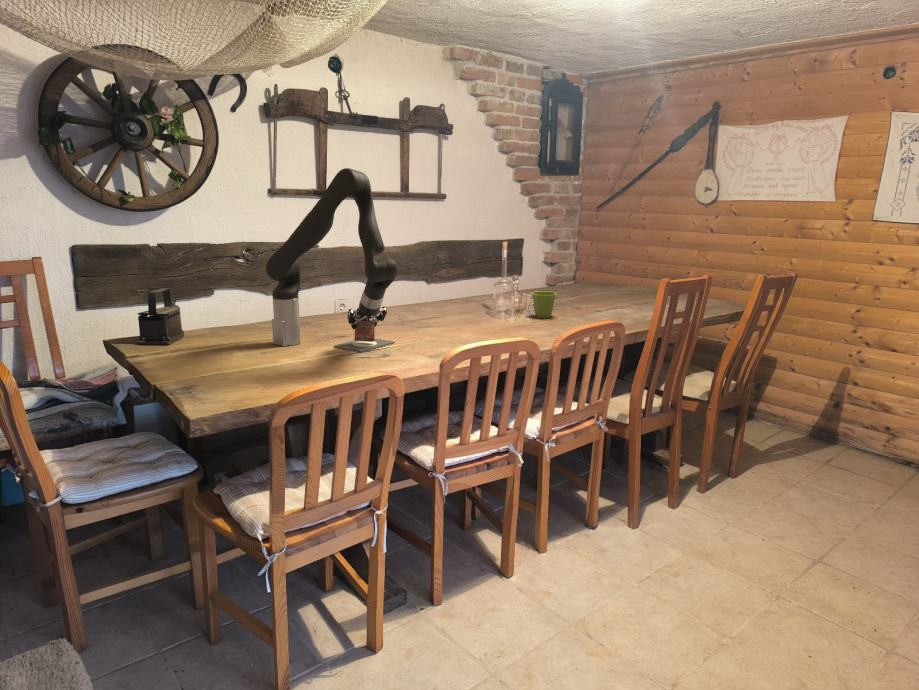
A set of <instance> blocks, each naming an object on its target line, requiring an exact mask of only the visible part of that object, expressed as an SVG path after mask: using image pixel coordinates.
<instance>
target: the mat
mask: <svg viewBox="0 0 919 690" xmlns="http://www.w3.org/2000/svg"><path fill="white" fill-rule="evenodd" d="M393 343H395V344H396V341H392V340H387V339H381V338H375V341H374V342H364V341H355V340H354V339H353V340H350V341H346V342H342V343H339V344H335V345H333V348H336V349H341V350H346V351H351V352H355V353H361V354H362V353H365V352H369V351H373V349H374V350H376V348H377V349H381V348H383V346H384V347H387V346H386V345H388V346H390V345H389V344H391V345H394V344H393ZM380 347H381V348H380Z"/></svg>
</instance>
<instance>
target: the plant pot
mask: <svg viewBox="0 0 919 690" xmlns="http://www.w3.org/2000/svg"><path fill="white" fill-rule="evenodd" d="M530 294H531V296H532V300H533V308H534V315H535V317H536V318H538V319H540V318H541V319H549V318H552V315H553V309H554V304H555V300H556V297H557V294H558V293H557V292H555V291H550V290H549V291H548V290H547V291H545V290H543V291H542V290H541V291H540V290H538V291H533V292H530Z"/></svg>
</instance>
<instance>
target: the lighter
mask: <svg viewBox="0 0 919 690" xmlns="http://www.w3.org/2000/svg"><path fill="white" fill-rule="evenodd" d="M374 323H375V321H373V319H363V320H362V321H361V322H358V323H357V325H356V328H355V329H354V338H353V341H354V340H355V341H364V342H374V341H375V337H376V335H375V328H374Z"/></svg>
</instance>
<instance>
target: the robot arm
mask: <svg viewBox="0 0 919 690" xmlns="http://www.w3.org/2000/svg"><path fill="white" fill-rule="evenodd" d="M329 183H330V184H329V185H328V186H327V188H326V190H325V191H324V193H323V194H322V195H321V197H320V198H319V199H318V200H317V202H316V203H315V204H314V206H313V207H312V209H310V211H309V212H308V213H307V214H306V215H305V217H304V218H303V219H302V220H301V222H300V223H299V225H297V227H296V228H295V230H294V231H293V232H292V233H291V235H290V236H289V237H288V239H287V240H286V241H285V242H284V243H283V244H282V245H281V246H280V247H279V248H278V249H277V250H276V251H275V252H274V253H273V254H272V255H271V256H270V257H269V258H268V260H267V262H266V265H265V273H266V275H267V277H269V278H270V279H271V280H272V281H278V283H277V286H276V287H275V288H274V289H273V290H272V308H273V318H272V319H271V329H272V341H273V342H272V343H273V345H276V344H277V345H276V346H280V345H281V347H287V346H288V345H289V346H296V345H299V344H301V342H302V340H301V338H302V337H301V321H300V320H301V319H300V302H299V301H300V300H299V292H300V290H301V266H300V262H299V260H298V259H299V258H301V256H303V255H304V254H305V253H307V252H309V251H310V250H311V249H313V248H314V247H316V246H317V245H318V244H320V243H321V242H322V240H323V239H324V238H325V237H326V236H327V235H328V233H329V232H330V231H331V229H332V227H333V225H334V219H335V213H336V210H337V209H338V207H339V206H340V205H341V204H342V203H343V201H344V200H345V199H347V198H351V199H353V200H354V202H355V204H356V205H357V209H358V227H357V231H358V237H359V242H360V243H361V247H362V250H363V255H364V273H365V278H367V281H366V282H365V286H364V290H363V291H362V294H361V297H360V300H359V304H358V307H357V309H354V310H353V308H349V309H348V311H347V321H348V324H349V325H350V327H351V329H353V330H355V328H356V325H357V323H358V322H361V321H362V320H363V319H370V320H373V321H375V323H374V329H375V327H377V326H378V323H379V322H383V321H384V320H385V319H386V315H387V313H388V310H387V308H386V306H382V305H383V303H384V302H383V301H384V298H385V297H384V296H385V293H386V291H387V289H388V288H389V286H390V285H391V284H392V283H393V282H394V281H395V279H396V278H397V275H398V265H397V263H396V262H395V260H394V259H391V258H383V259H377V260H375V257H376V256H378V255H381V254H382V253H383V252H385V249H386V248H385V244H384V240H383V238H382V235H381V234H382V233H381V232H380V228H379V225H378V221H377V217H376V211H375V205H374V197H373V191H372V186H371V182H370V179H369V176H368V175H367V174H366V173H364V172H362V171H360V170H356V169H353V168H349V167H345V168H342V169H340V170H339V171H338V172H337V173H336V174H335V176H334V177H333V178H332V179H331V182H329ZM378 314H379V315H378Z"/></svg>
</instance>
